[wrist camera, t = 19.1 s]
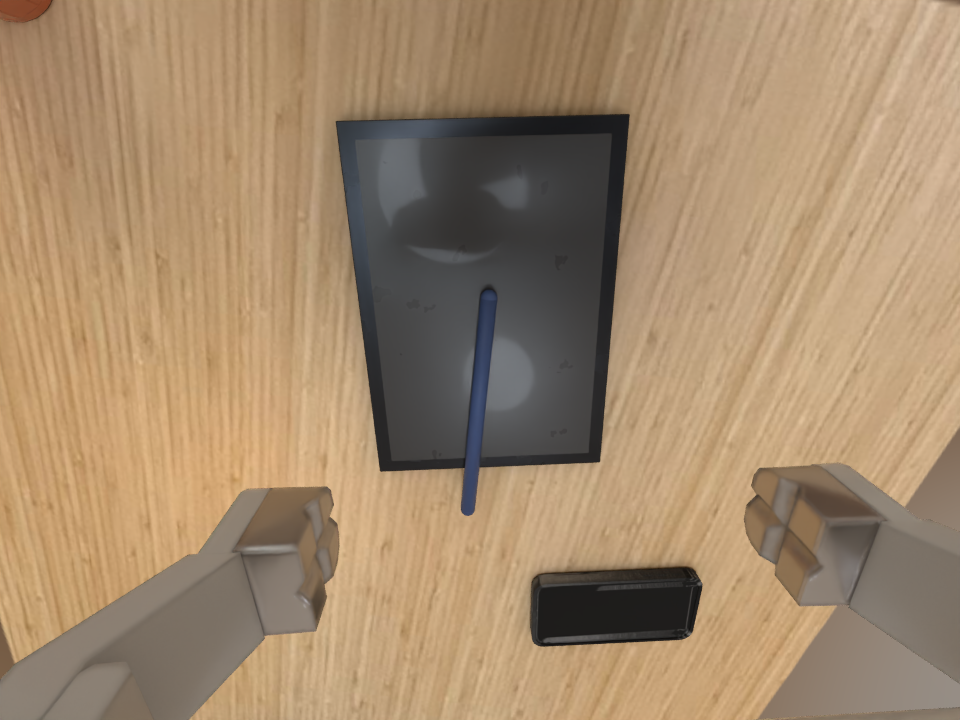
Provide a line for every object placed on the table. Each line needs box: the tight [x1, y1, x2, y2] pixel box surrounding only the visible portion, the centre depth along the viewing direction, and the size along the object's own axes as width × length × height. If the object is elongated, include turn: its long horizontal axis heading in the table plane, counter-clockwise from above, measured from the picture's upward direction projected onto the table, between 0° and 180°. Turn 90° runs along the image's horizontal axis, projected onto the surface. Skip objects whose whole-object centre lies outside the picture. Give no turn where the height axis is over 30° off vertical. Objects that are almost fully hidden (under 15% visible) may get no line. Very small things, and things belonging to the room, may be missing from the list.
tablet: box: [336, 114, 630, 472], centre depth 31 cm, size 24×17×1 cm
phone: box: [530, 568, 702, 647], centre depth 42 cm, size 8×1×15 cm
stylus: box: [461, 290, 497, 516], centre depth 33 cm, size 1×1×18 cm
